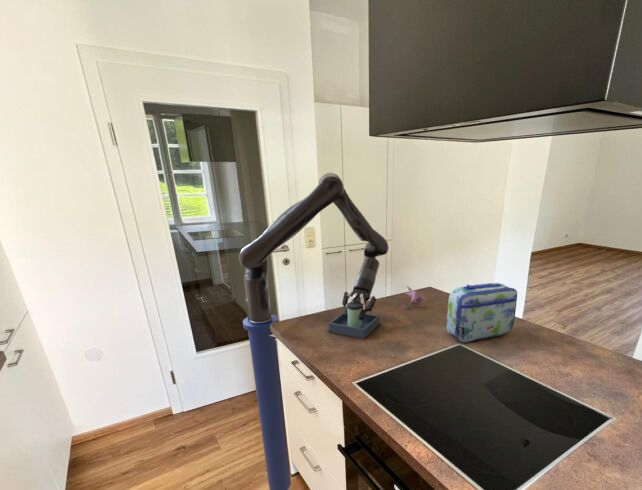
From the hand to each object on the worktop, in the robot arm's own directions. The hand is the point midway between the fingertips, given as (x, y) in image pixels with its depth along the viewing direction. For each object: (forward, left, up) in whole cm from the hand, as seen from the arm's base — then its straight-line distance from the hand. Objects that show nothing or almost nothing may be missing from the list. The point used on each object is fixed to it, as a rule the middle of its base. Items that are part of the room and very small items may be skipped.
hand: (352, 317), depth 143 cm
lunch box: (+47, +16, -5) cm, 50 cm away
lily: (+15, +36, -5) cm, 39 cm away
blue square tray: (0, +2, -5) cm, 5 cm away
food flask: (0, +2, -4) cm, 5 cm away
